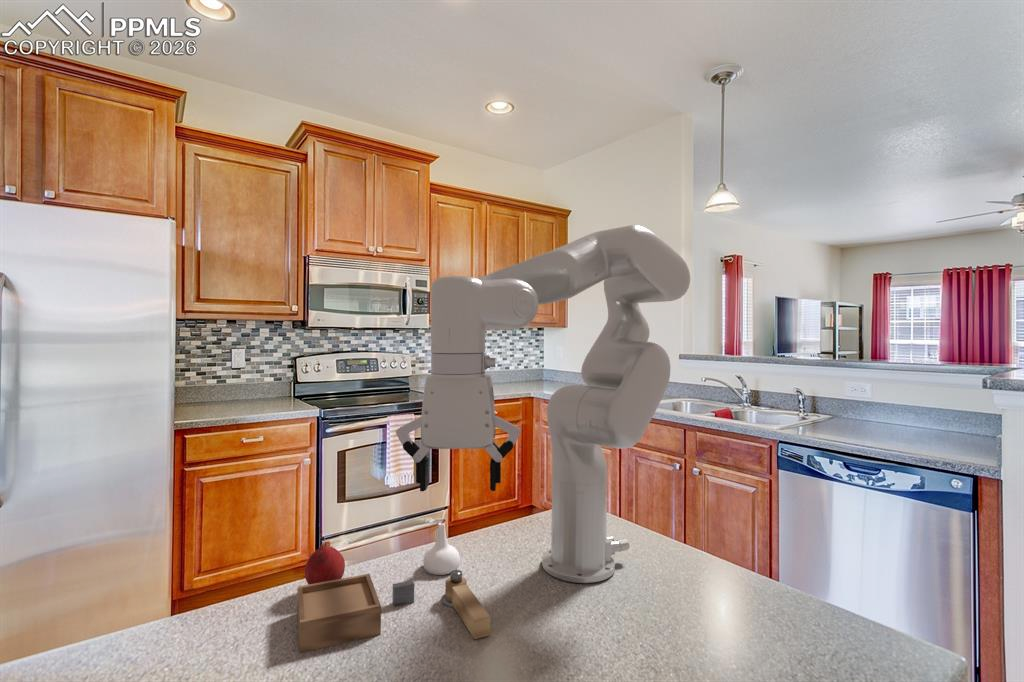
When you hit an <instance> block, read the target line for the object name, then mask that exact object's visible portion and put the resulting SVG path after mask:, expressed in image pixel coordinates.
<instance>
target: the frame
mask: <svg viewBox="0 0 1024 682" xmlns="http://www.w3.org/2000/svg"><path fill="white" fill-rule="evenodd" d="M462 577H463V570H460V569H457V570H453V571H451V572H450V574H449V578H450V582H451V583H460V582H462ZM391 600H392V605H393V607H399V606H403V605H408V604H413V603H415V582H414V580H407V581H402V582H397V583H392V598H391ZM440 601H441V603H442V604H443V606H445V607H449V608H454V606H453V605H452V603H450V602H448V601H446V599H445V593H444V594H443V595H442V596H441V599H440Z"/></svg>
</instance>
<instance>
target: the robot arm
mask: <svg viewBox="0 0 1024 682" xmlns="http://www.w3.org/2000/svg"><path fill="white" fill-rule="evenodd" d="M602 281H603V292H604V296H605V300H606V301H605V302H606V305H607V306H606V307H607V320H606V322H605V325H604V327H603V328H602V330H601V332H600V333H599V335H598V337H597V338H596V340H595V342H594V343H593V345H592V346H591V347H590V349H589V351H588V353H587V355H586V356H585V358H584V360H583V363H582V366H581V369H580V370H581V371H580V374H581V377H582V378H581V379H582V380H583V382H584V383H585V385H583V384H582V385H581V384H570V385H565V386H562V387H560V388H558V389H557V390H556V391H554V393H552V395H551V396H550V398H549V400H548V403H547V406H546V420H547V427H548V432H549V438H550V443H551V444H550V445H551V466H552V468H551V471H552V472H551V473H552V475H551V529H550V530H551V539H550V540H551V541H550V542H551V543H550V544H551V545H550V546H551V547H550V548H551V549H549V550H548V551H546V552H545V553H544V554H543V555H542V557H541V559H542V560H541V565H542V568H543V570H544V571H545V572H546V573H547V574H549V575H550V576H552V577H554V578H556V579H558V580H562V581H563V582H564V581H565V582H569V583H577V584H591V583H598V582H602V581H605V580H607V579H609V578H611V577H612V576H613V575H614V573H615V572H616V562H615V559H614V558H613V557H612V556H613V555H615V554H616V552H625V551H628V550H629V549H630V543H629V540H628V539H626V538H621V539H617V540H615V538H614V537H613V536H607V509H608V507H607V506H608V505H607V503H608V501H607V500H608V498H607V497H608V495H607V494H608V493H607V492H608V468H607V467H608V465H607V461H606V457H605V455H604V451H603V449H602V447H601V446H603V447H605V448H606V447H608V448H613V449H618V450H622V449H623V450H626V449H630V448H632V447H634V446H635V445H636V444H637V443H638V442H640V440H641V439H642V438H643V436H644V434H645V433H646V431H647V429H648V427H649V425H650V423H651V420H652V419H653V417H654V415H655V413H656V411H657V409H658V407H659V406H660V403H661V401H662V399H663V397H664V395H665V393H666V391H667V388H668V386H669V382H670V378H671V360H670V357H669V354H668V353H667V351H666V350H665V349H664V348H663V347H662V346H661V345H660V344H658V343H654V342H652V341H648V340H649V338H650V328H649V323H648V322H647V320H646V318H645V316H644V315H643V313H642V311H641V308H640V305H639V304H641V303H642V304H644V303H663V302H664V303H665V302H673V301H676V300H679V299H681V298H682V297H683V296H684V295H685V294H686V293H687V292H688V289H689V287H690V283H691V274H690V269H689V266H688V265H687V263H686V261H685V260H684V258H683V256H681V255H680V254H679V253H678V252H677V251H676V250H674V249H673V248H672V247H671V246H669V244H668V243H666V242H665V241H664V240H663V239H662V238H661V237H659V236H658V235H657V234H656V233H654V232H652V231H651V230H649V229H647V228H646V227H644V226H640V225H636V224H632V225H631V224H630V225H625V226H620V227H616V228H609V229H605V230H603V229H602V230H598V231H595V232H592V233H589V234H587V235H584V236H581V237H580V238H577V239H575V240H573V241H571V242H569V243H567V244H564V245H561V246H559V247H558V248H555V249H552V250H549V251H547V252H544V253H542V254H539V255H536V256H533V257H531V258H529V259H526V260H524V261H523V260H522V261H521V262H518V263H515V264H512V265H510V266H506V267H503V268H501V269H499V270H496V271H493V272H490V273H488V274H485V275H484V276H481V277H479V278H476V277H472V276H463V275H461V276H460V275H456V276H454V275H451V276H442V277H438V278H436V279H435V280H433V282H432V284H431V286H430V375H427V376H426V378H425V384H424V388H423V393H422V404H421V405H422V406H421V416H418V417H416V418H415V419H413V420H411V421H409V422H407V423H406V424H403V425H402V426H400V427H398V428H397V429H396V431H395V434H396V436H397V439H398V440H399V443H400V444H401V445H402V449H403V450H404V451H405V452H406V453H407V454H408V455H409V456H410V457H411V458H412V460H413V462H415V483H416V484H419V491H420V492H425V491H427V489H428V487H429V485H430V469H429V468H430V461H429V458H428V457H427V454H428V453H429V451H430V450H431V449H432V450H433V449H434V450H435V449H436V450H447V449H449V450H470V449H471V450H473V449H474V450H476V449H479V450H480V449H484V450H485V451H486V452H487V453H488V455H489V456H490V457H491V458H490V463H489V490H490V491H491V492H496V490H497V484H501V483H502V480H501V479H502V469H501V467H502V461H503V459H504V458H505V457H506V456H507V455H508V454H509V453H510V452H511V451H513V448H514V446H515V444H516V443H517V440H518V439H519V437H520V435H521V428H520V427H519V426H517V425H516V424H513V423H512V422H510V421H507V420H505V419H503V418H501V417H500V416H498V415H496V407H495V406H496V405H495V393H494V388H493V386H494V385H493V381H492V376H491V375H489V374H486V370H488V369H491V368H496V357H491V356H488V355H486V331H490V330H491V331H492V330H493V331H513V330H518V329H523V328H524V327H526V326H528V325H530V323H531V322H532V321H533V320H534V319H535V317H536V316H537V313H538V310H539V306H541V305H549V304H553V303H558V302H562V301H566V300H568V299H571V298H573V297H575V296H577V295H578V294H581V293H582V292H585V291H586V290H587V289H590V288H592V287H593V286H595V285H597V284H599V283H601V282H602ZM496 428H498V430H501V431H503V432H505V433H507V434H508V435H507V438H506V440H505V441H504V442H503V443H502V444H501V445H500V446H499V444H497V443H496V441H495V438H496ZM417 429H420V441H421V444H422V445H421V446H419V445H417V444H416V443H415V441H413V440H412V439H411V435H410V434H411V433H412V432H414V431H416V430H417Z"/></svg>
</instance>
